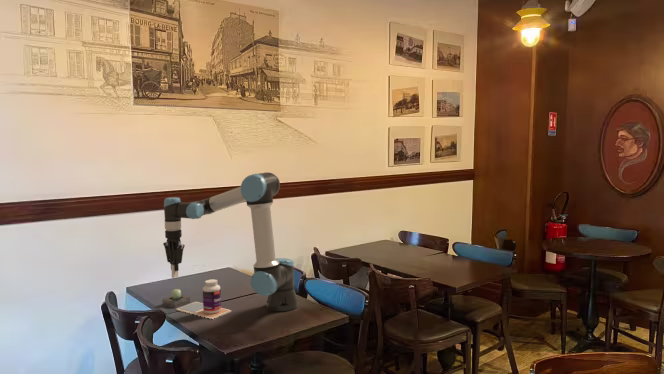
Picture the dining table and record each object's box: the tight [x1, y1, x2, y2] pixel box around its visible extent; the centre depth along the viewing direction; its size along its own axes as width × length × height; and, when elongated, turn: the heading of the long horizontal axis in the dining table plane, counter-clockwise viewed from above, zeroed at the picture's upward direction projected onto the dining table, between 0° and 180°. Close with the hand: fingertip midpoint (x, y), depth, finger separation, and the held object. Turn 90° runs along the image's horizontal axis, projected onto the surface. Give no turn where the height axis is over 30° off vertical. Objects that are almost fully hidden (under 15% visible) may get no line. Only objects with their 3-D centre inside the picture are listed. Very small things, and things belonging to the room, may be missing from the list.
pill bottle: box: [202, 279, 222, 314], centre depth 219 cm, size 8×8×14 cm
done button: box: [170, 288, 182, 300], centre depth 233 cm, size 4×4×4 cm
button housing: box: [162, 294, 191, 309], centre depth 233 cm, size 9×9×3 cm
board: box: [175, 301, 232, 320], centre depth 223 cm, size 24×12×1 cm, turn 58°
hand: (175, 277), depth 232 cm, fingers closed
